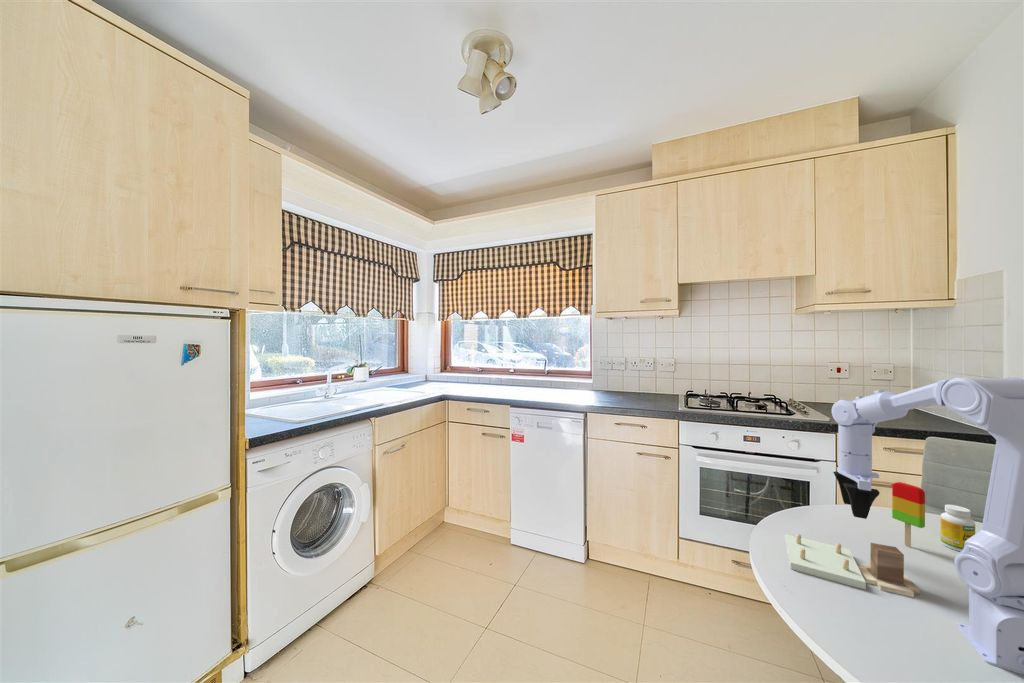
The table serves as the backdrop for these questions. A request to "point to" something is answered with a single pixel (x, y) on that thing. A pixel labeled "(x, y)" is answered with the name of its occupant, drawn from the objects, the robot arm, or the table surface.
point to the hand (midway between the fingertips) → (854, 510)
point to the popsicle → (908, 507)
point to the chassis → (823, 561)
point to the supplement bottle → (956, 527)
